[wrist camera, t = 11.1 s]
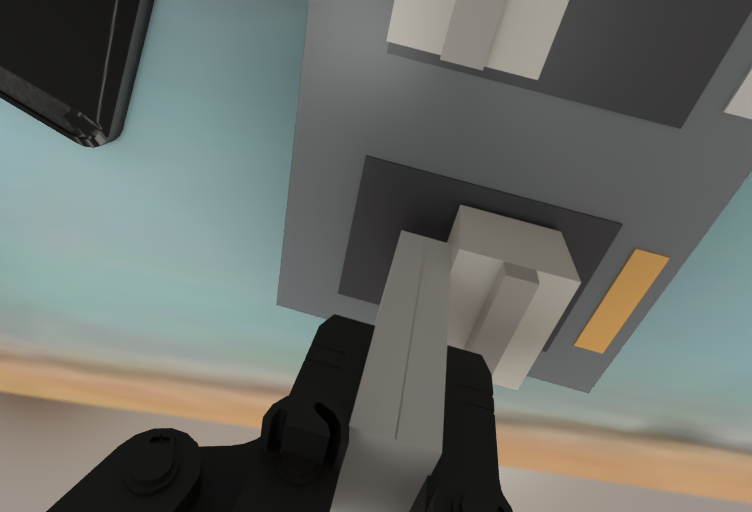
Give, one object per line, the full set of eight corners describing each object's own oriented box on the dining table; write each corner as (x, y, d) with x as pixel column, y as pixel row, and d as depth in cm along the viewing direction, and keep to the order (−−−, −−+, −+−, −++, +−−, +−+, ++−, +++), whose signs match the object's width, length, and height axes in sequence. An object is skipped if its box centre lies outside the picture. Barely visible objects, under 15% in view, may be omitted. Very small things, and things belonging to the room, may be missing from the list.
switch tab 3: (460, 204, 13) (458, 262, 10) (560, 231, 12) (587, 297, 10) (423, 307, 15) (414, 377, 12) (509, 331, 15) (519, 407, 12)
